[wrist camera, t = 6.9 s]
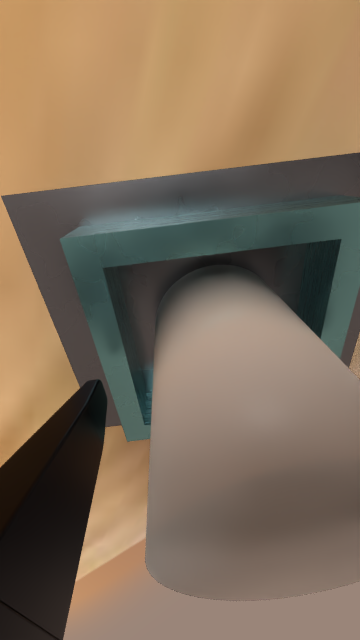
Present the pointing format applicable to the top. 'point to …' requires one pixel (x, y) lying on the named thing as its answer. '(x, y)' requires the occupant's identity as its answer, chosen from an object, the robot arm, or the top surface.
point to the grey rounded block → (249, 446)
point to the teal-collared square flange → (189, 259)
